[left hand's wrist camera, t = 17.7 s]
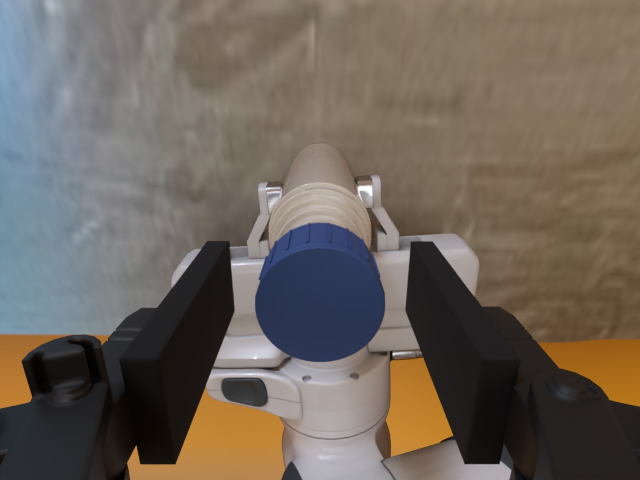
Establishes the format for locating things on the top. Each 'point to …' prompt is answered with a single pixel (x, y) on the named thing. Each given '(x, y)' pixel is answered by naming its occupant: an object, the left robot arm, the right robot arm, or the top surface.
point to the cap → (320, 293)
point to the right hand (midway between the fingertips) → (318, 180)
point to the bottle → (319, 195)
